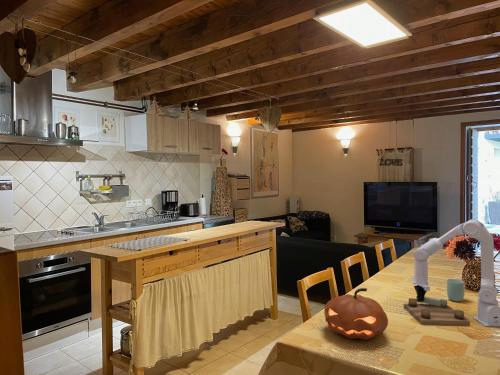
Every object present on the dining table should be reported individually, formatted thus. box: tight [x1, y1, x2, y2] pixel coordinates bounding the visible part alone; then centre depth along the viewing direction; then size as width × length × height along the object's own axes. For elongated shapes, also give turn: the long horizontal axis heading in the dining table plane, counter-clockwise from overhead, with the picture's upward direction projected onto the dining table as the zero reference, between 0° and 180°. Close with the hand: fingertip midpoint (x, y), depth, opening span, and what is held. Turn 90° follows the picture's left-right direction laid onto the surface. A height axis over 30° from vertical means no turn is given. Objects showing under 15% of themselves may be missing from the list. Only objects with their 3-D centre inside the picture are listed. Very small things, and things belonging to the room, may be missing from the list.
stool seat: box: [403, 297, 471, 327], centre depth 163 cm, size 20×20×5 cm
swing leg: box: [415, 295, 448, 307], centre depth 173 cm, size 13×3×3 cm, turn 52°
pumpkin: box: [323, 287, 389, 341], centre depth 145 cm, size 25×25×19 cm
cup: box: [446, 278, 466, 303], centre depth 184 cm, size 8×8×10 cm
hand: (420, 301), depth 173 cm, fingers closed, pressing on swing leg
